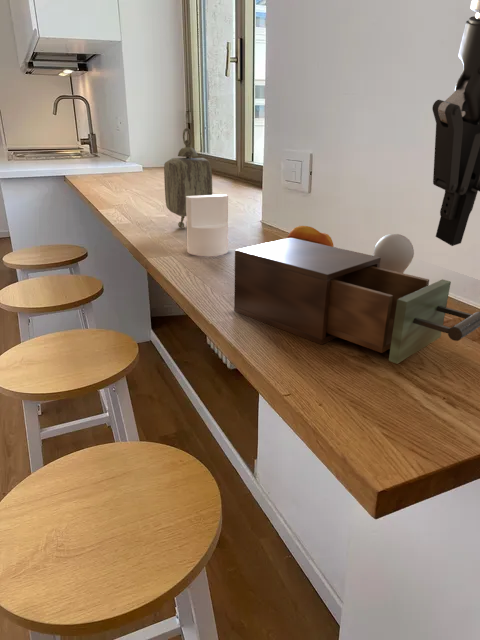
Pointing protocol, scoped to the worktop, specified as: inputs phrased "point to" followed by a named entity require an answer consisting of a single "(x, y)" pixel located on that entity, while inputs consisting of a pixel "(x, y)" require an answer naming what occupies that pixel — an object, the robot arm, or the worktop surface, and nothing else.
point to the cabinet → (292, 283)
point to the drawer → (392, 311)
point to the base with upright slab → (207, 224)
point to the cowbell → (186, 178)
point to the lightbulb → (394, 252)
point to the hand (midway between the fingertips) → (448, 239)
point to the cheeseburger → (310, 235)
